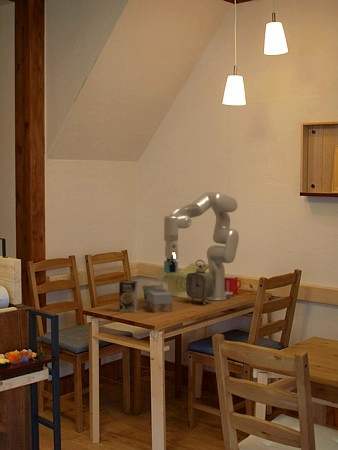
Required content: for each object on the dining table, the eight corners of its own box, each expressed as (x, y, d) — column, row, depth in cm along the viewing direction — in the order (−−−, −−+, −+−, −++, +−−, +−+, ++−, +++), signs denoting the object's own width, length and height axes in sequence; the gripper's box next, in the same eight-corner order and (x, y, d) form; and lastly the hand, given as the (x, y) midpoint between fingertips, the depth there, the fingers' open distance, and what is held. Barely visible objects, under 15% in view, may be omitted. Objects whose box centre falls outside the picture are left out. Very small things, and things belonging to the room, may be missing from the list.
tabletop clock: (186, 302, 380) (186, 259, 378) (196, 300, 387) (196, 258, 385) (204, 306, 370) (205, 262, 368) (215, 304, 377) (215, 260, 375)
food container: (145, 304, 377) (145, 286, 376) (142, 302, 382) (142, 285, 381) (166, 302, 381) (165, 285, 380) (162, 300, 387) (162, 283, 386)
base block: (164, 306, 372) (164, 297, 372) (172, 312, 357) (172, 303, 356) (146, 307, 369) (146, 298, 369) (154, 313, 354) (154, 304, 353)
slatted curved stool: (190, 289, 421) (190, 262, 420) (209, 292, 410) (209, 264, 409) (157, 296, 400) (157, 267, 398) (176, 299, 389) (176, 269, 387)
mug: (220, 294, 406) (220, 277, 405) (227, 292, 413) (227, 275, 412) (237, 296, 399) (237, 279, 398) (244, 294, 406) (244, 277, 405)
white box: (163, 297, 371) (163, 288, 371) (172, 303, 356) (172, 294, 356) (146, 298, 369) (146, 289, 368) (154, 304, 353) (154, 295, 353)
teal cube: (174, 271, 366) (174, 260, 366) (177, 272, 360) (177, 261, 360) (164, 271, 364) (164, 260, 364) (167, 273, 359) (167, 262, 358)
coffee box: (118, 312, 356) (118, 282, 355) (121, 309, 362) (121, 280, 361) (135, 312, 355) (135, 282, 353) (137, 310, 361) (137, 280, 360)
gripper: (182, 239, 354) (182, 273, 355) (173, 236, 370) (172, 268, 372) (168, 239, 352) (168, 273, 353) (160, 236, 368) (160, 269, 369)
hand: (170, 270), depth 362 cm, fingers closed on teal cube, 6 cm apart
